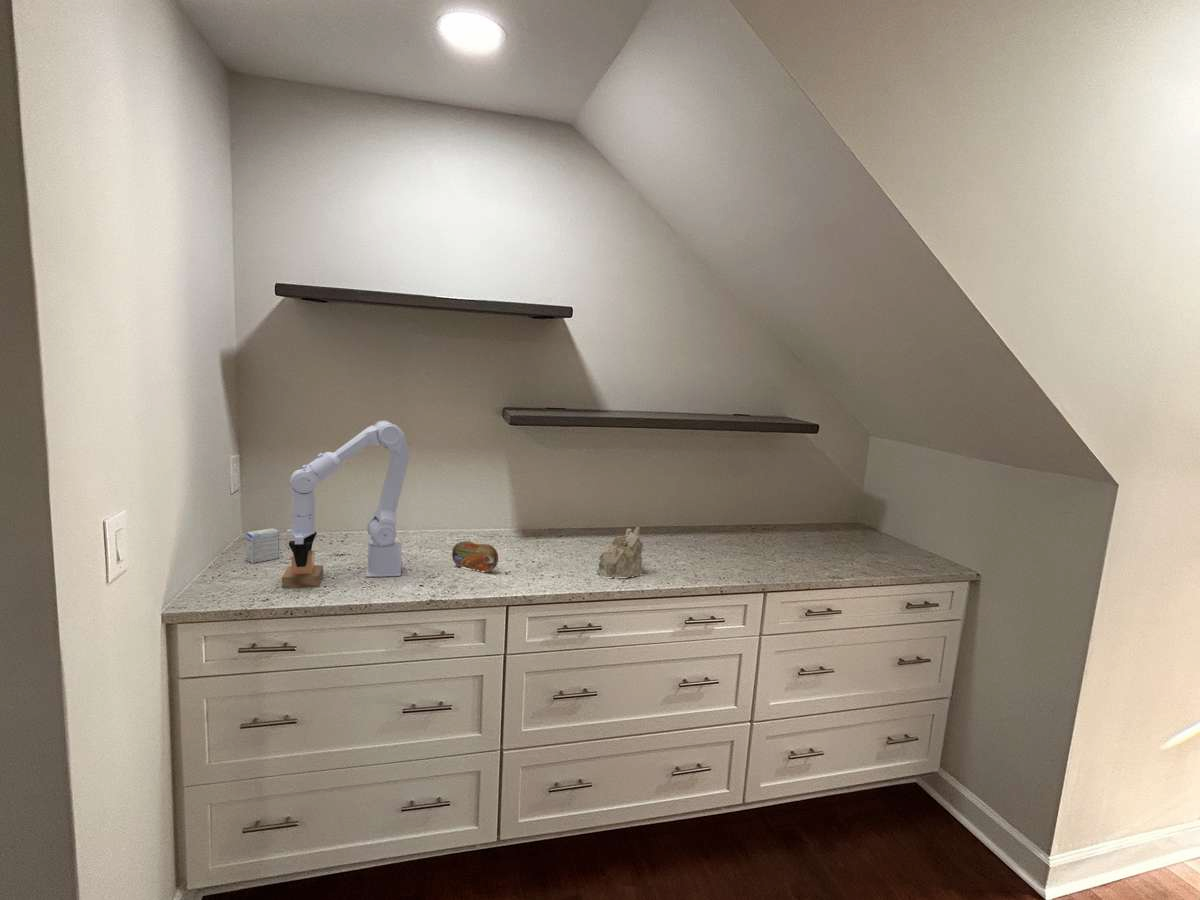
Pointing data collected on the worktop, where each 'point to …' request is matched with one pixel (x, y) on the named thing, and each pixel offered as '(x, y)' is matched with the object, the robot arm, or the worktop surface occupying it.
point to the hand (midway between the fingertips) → (303, 562)
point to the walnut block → (302, 578)
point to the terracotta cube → (308, 568)
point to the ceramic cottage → (622, 556)
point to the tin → (475, 556)
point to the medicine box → (262, 545)
